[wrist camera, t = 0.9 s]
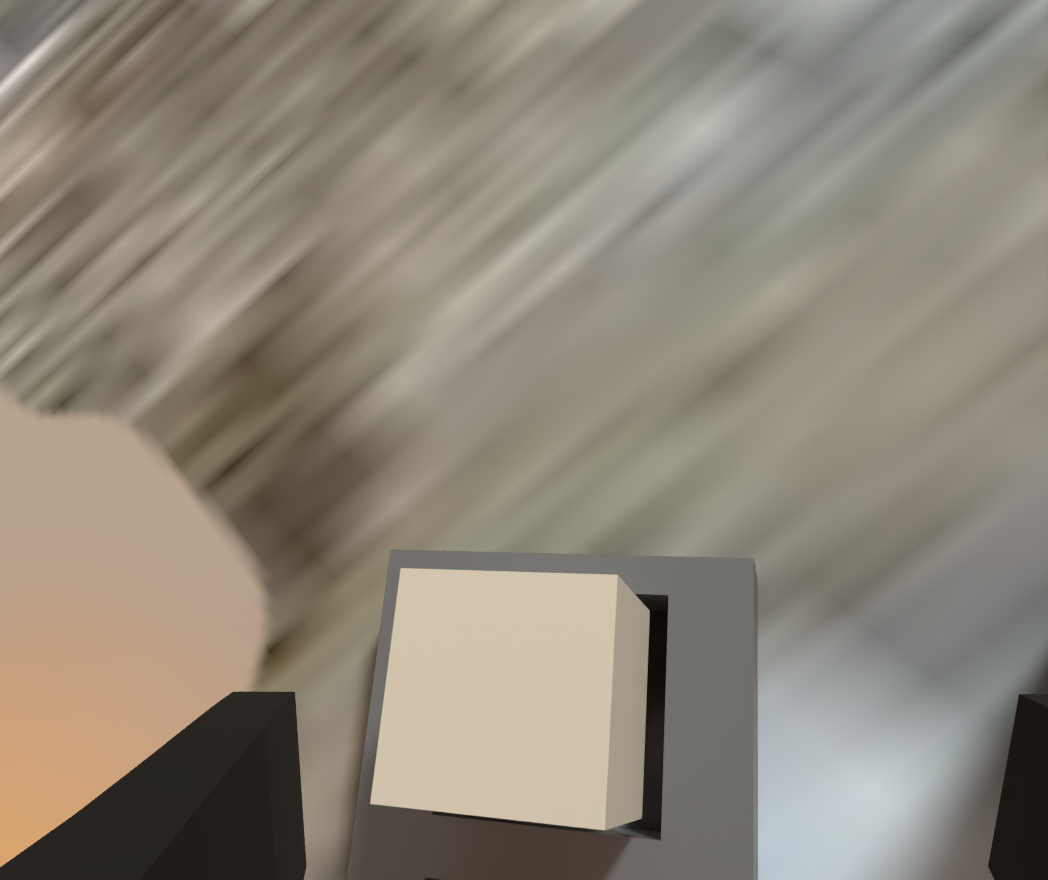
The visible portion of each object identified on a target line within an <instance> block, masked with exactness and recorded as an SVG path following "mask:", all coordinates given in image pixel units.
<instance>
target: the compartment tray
mask: <svg viewBox="0 0 1048 880" xmlns="http://www.w3.org/2000/svg"><path fill="white" fill-rule="evenodd" d="M401 568H415V569H447V570H479V571H511V572H544V573H576V574H608V575H618V576H619V577H620V578H621V579H622V580H623V581H624V582H625V584H626V585H627V586H628V587H629V588H630V589H631V590H632V591H633V593H634V594H635V595H636V596H637V597H638V598H639V599H640V600H641V602H642V603H643V604H644V605H645V606H646V607H647V608H648V610H650V611H668V628H667V660H666V692H665V723H664V755H663V787H662V819H661V832H656V831H647V830H638V829H629V828H620V827H614V828H611V829H608V830H597V829H588V828H579V827H570V826H562V825H553V824H544V823H535V822H526V821H517V820H509V819H500V818H491V817H482V816H473V815H464V814H455V813H447V812H438V811H429V810H420V809H411V808H402V807H394V806H385V805H376V804H370V801H371V793H372V785H373V777H374V770H375V762H376V754H377V747H378V739H379V731H380V723H381V716H382V708H383V700H384V693H385V685H386V677H387V669H388V662H389V654H390V646H391V639H392V631H393V623H394V615H395V608H396V600H397V592H398V584H399V577H400V569H401ZM346 880H758V742H757V574H756V569H755V563H754V559H749V558H709V557H668V556H628V555H588V554H547V553H507V552H466V551H426V550H391V551H390V559H389V566H388V574H387V581H386V588H385V596H384V603H383V611H382V618H381V626H380V633H379V641H378V648H377V656H376V663H375V670H374V678H373V685H372V693H371V700H370V708H369V715H368V723H367V730H366V738H365V745H364V753H363V760H362V767H361V775H360V782H359V790H358V797H357V805H356V812H355V820H354V827H353V835H352V842H351V849H350V857H349V864H348V872H347V879H346Z"/></svg>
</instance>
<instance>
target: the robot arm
mask: <svg viewBox="0 0 1048 880" xmlns="http://www.w3.org/2000/svg"><path fill="white" fill-rule="evenodd" d="M988 867H989V869H990V871H991V873H992V876H993V878H994V880H1048V694H1019V699H1018V704H1017V710H1016V715H1015V721H1014V727H1013V732H1012V738H1011V743H1010V749H1009V754H1008V760H1007V765H1006V771H1005V776H1004V782H1003V787H1002V793H1001V798H1000V804H999V809H998V815H997V820H996V826H995V831H994V837H993V842H992V848H991V853H990V859H989V864H988ZM305 870H306V853H305V838H304V823H303V808H302V793H301V778H300V763H299V747H298V732H297V717H296V702H295V692H232V693H231V694H229V695H228V696H226V697H225V698H223V699H222V700H221V701H219V702H218V703H217V704H216V705H214V706H213V707H211V708H210V709H209V710H207V711H206V712H205V713H204V714H202V715H201V716H200V717H199V718H197V719H196V720H195V721H193V722H192V723H191V724H190V725H188V726H187V727H186V728H185V729H183V730H182V731H181V732H180V733H179V734H177V735H176V736H175V737H173V738H172V739H171V740H170V741H168V742H167V743H166V744H165V745H163V746H162V747H161V748H160V749H158V750H157V751H156V752H155V753H153V754H152V755H151V756H149V757H148V758H147V759H146V760H144V761H143V762H142V763H141V764H139V765H138V766H137V767H135V768H134V769H133V770H131V771H130V772H129V773H128V774H126V775H125V776H124V777H123V778H121V779H120V780H119V781H117V782H116V783H115V784H113V785H112V786H111V787H110V788H108V789H107V790H106V791H104V792H103V793H102V794H101V795H99V796H98V797H97V798H95V799H94V800H93V801H92V802H90V803H89V804H88V805H86V806H85V807H84V808H83V809H81V810H80V811H79V812H77V813H76V814H75V815H73V816H72V817H71V818H69V819H68V820H66V821H65V822H63V823H62V824H61V825H59V826H58V827H56V828H55V829H54V830H52V831H51V832H49V833H48V834H47V835H45V836H44V837H42V838H41V839H40V840H38V841H37V842H35V843H34V844H33V845H31V846H30V847H28V848H27V849H26V850H24V851H23V852H21V853H20V854H19V855H17V856H16V857H14V858H13V859H12V860H10V861H9V862H7V863H6V864H4V865H3V866H2V867H0V880H303V879H304V875H305Z"/></svg>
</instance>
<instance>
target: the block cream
mask: <svg viewBox="0 0 1048 880" xmlns="http://www.w3.org/2000/svg"><path fill="white" fill-rule="evenodd" d="M649 621H650V611H649V610H648V608H647V607H646V606H645V605H644V604H643V603H642V602H641V600H640V599H639V598H638V597H637V596H636V595H635V594H634V593H633V591H632V590H631V589H630V588H629V587H628V586H627V585H626V584H625V582H624V581H623V580H622V579H621V578H620V577H619V576H618V575H608V574H576V573H544V572H511V571H479V570H447V569H415V568H401V569H400V577H399V584H398V592H397V600H396V608H395V615H394V623H393V631H392V639H391V646H390V654H389V662H388V669H387V677H386V685H385V693H384V700H383V708H382V716H381V723H380V731H379V739H378V747H377V754H376V762H375V770H374V777H373V785H372V793H371V801H370V804H376V805H385V806H394V807H402V808H411V809H420V810H429V811H438V812H447V813H455V814H464V815H473V816H482V817H491V818H500V819H509V820H517V821H526V822H535V823H544V824H553V825H562V826H570V827H579V828H588V829H597V830H608V829H611V828H614V827H617V826H620V825H623V824H626V823H630V822H633V821H636V820H639V819H642V806H643V780H644V753H645V727H646V700H647V674H648V648H649Z"/></svg>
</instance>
